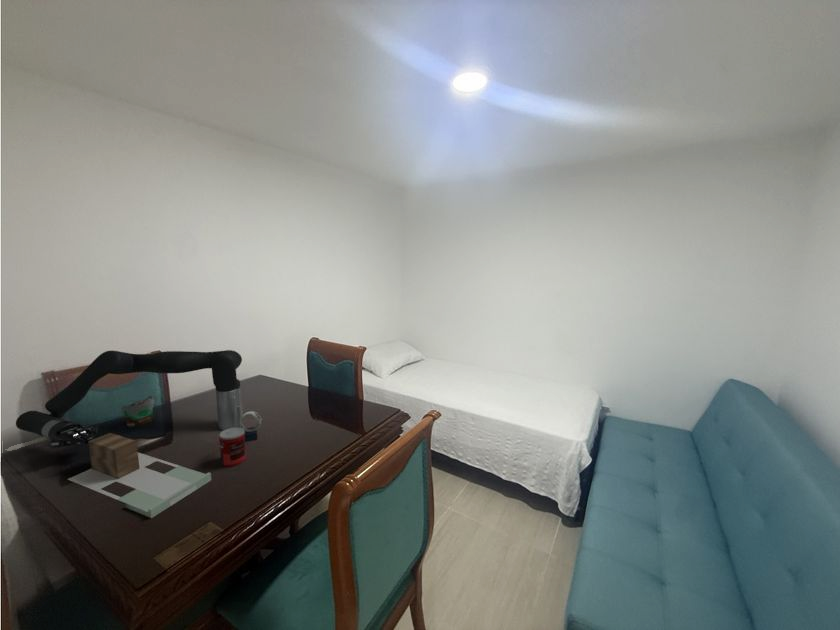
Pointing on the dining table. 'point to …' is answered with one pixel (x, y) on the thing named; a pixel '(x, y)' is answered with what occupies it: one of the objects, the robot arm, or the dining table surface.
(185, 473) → the trap lane
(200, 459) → the dining table surface
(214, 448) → the dining table surface
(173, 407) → the dining table surface
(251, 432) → the watch
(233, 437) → the canned food
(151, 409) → the food container
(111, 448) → the walnut block
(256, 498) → the dining table surface
